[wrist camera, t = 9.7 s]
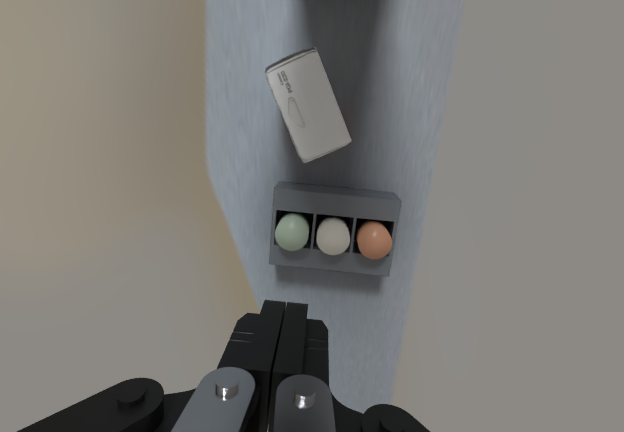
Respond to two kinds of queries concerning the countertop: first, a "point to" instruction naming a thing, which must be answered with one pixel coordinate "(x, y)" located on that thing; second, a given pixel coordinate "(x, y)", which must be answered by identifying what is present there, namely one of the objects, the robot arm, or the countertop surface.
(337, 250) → the cream button
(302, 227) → the sage button
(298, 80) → the ink box
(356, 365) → the countertop surface
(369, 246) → the terracotta button
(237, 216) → the countertop surface
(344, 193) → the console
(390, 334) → the countertop surface
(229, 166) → the countertop surface
